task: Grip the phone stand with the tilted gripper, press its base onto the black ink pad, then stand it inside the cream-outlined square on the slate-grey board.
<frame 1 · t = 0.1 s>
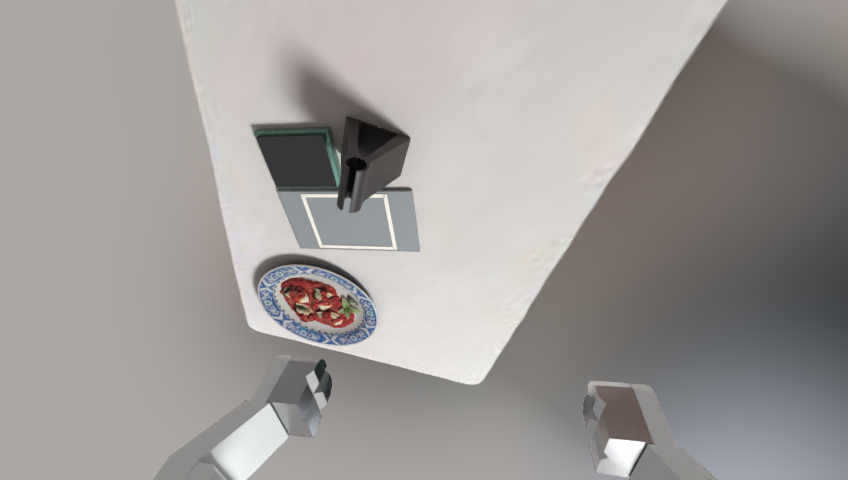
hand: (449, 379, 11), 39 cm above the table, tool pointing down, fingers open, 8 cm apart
ceramic plate: (322, 301, 75), on the table
marked board: (351, 220, 58), on the table
phone stand: (375, 145, 49), on the table
ink pad: (302, 157, 52), on the table
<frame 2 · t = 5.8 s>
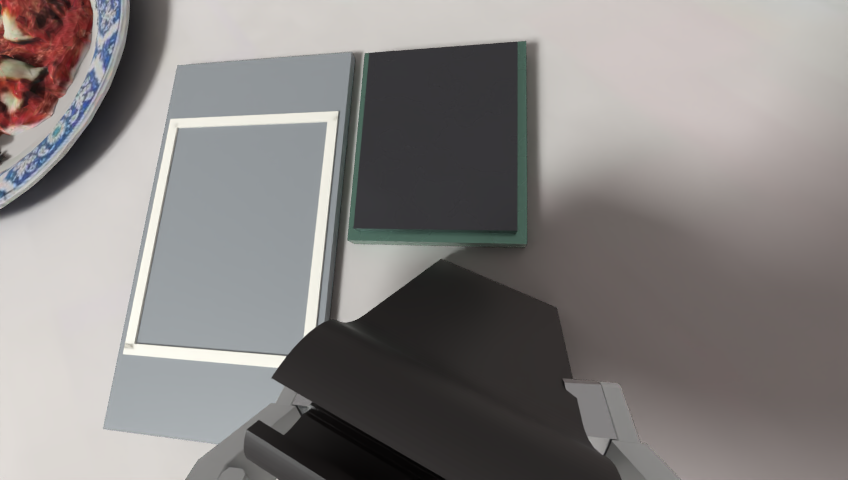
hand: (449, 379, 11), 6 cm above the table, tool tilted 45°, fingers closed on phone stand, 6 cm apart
ceramic plate: (11, 77, 27), on the table
marked board: (240, 232, 20), on the table
phone stand: (461, 367, 17), on the table, touching gripper
ink pad: (440, 147, 19), on the table
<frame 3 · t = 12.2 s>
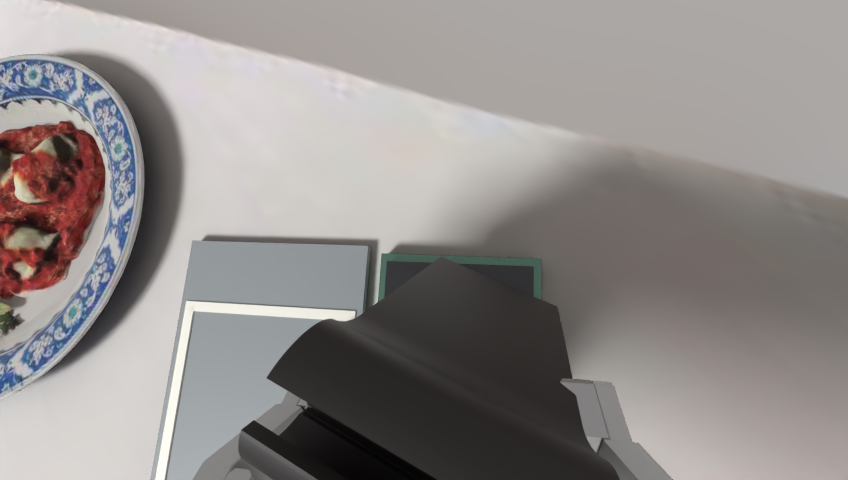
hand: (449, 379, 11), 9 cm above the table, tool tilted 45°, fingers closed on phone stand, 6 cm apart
ceramic plate: (21, 224, 27), on the table
marked board: (258, 427, 21), on the table
phone stand: (460, 365, 17), point 3 cm above the table, touching gripper
ink pad: (456, 354, 20), on the table
when the fingers open (8 cm above the table, at t = 17.9 s): phone stand drops 1 cm, resting on marked board.
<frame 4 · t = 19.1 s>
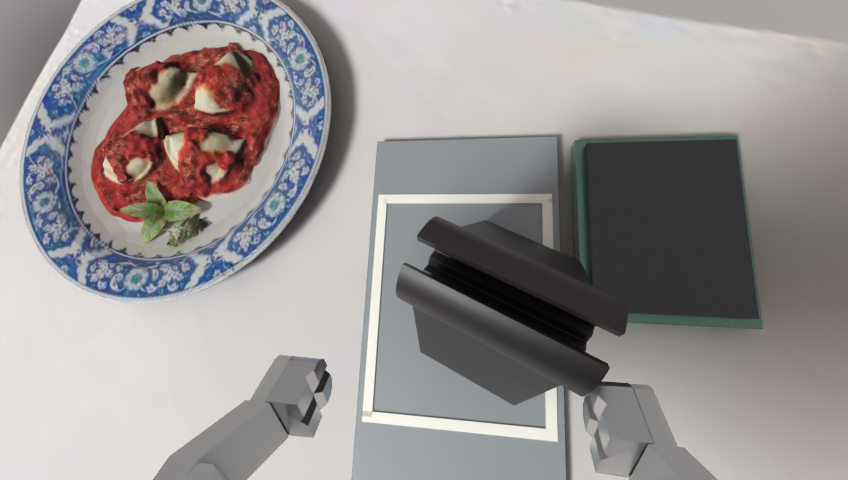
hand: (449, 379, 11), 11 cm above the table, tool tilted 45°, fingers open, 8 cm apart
ceramic plate: (190, 141, 28), on the table
marked board: (459, 305, 22), on the table
phone stand: (498, 307, 21), point 1 cm above the table, touching gripper, marked board
ink pad: (652, 230, 21), on the table
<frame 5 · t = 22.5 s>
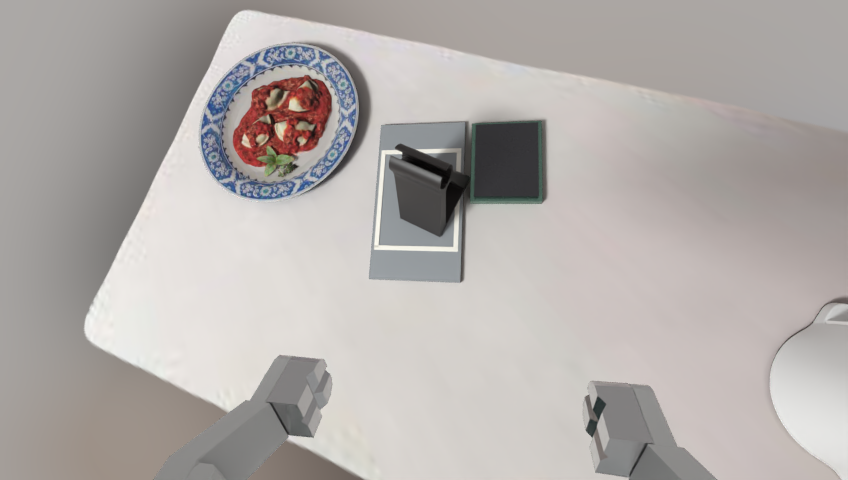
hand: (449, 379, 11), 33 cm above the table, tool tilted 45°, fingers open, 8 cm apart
ceramic plate: (284, 126, 54), on the table
marked board: (418, 200, 48), on the table
phone stand: (435, 199, 47), resting on marked board
ink pad: (505, 164, 47), on the table
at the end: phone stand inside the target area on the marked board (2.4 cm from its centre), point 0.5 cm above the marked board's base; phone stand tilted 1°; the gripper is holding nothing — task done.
